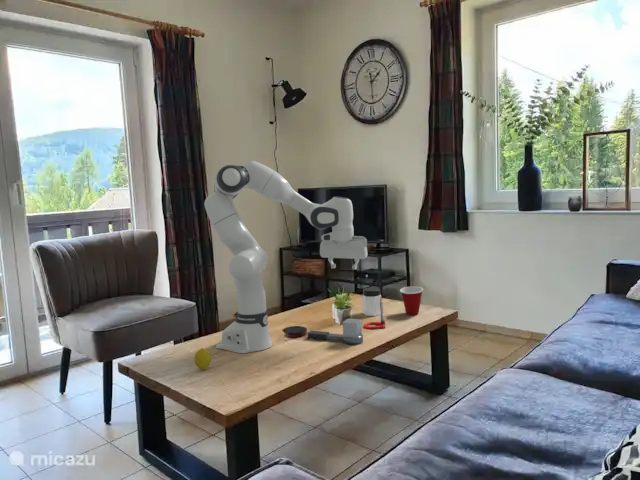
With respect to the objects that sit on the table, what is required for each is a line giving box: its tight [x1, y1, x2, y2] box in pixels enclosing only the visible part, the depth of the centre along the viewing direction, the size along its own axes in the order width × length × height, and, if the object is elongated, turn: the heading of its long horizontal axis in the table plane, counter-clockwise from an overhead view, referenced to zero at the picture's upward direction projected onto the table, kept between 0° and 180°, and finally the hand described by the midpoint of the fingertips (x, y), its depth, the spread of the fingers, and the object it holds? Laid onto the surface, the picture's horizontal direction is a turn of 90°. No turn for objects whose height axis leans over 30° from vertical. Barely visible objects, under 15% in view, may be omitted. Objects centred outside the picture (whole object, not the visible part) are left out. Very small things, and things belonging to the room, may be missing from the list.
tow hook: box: [363, 296, 386, 330], centre depth 220 cm, size 8×13×9 cm
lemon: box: [194, 348, 212, 371], centre depth 177 cm, size 6×6×8 cm
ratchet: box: [307, 330, 364, 346], centre depth 204 cm, size 23×8×6 cm, turn 67°
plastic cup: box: [399, 286, 424, 316], centre depth 237 cm, size 11×11×12 cm
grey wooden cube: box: [342, 318, 363, 338], centre depth 200 cm, size 6×6×6 cm
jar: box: [361, 287, 382, 317], centre depth 240 cm, size 9×8×12 cm
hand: (343, 268), depth 210 cm, fingers open, 8 cm apart
